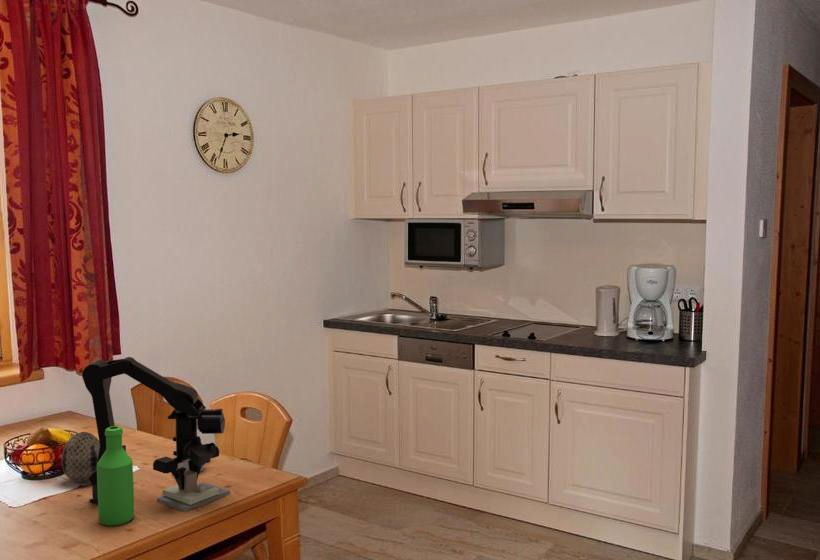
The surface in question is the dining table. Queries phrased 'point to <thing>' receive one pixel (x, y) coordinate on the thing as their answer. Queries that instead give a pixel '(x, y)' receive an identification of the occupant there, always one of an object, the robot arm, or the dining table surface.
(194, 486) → the two-prong bracket
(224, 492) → the slate board
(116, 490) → the bottle
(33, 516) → the dining table surface
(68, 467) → the decorative egg
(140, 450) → the dining table surface
